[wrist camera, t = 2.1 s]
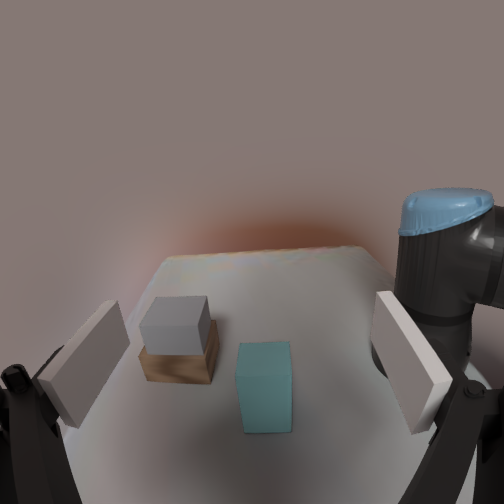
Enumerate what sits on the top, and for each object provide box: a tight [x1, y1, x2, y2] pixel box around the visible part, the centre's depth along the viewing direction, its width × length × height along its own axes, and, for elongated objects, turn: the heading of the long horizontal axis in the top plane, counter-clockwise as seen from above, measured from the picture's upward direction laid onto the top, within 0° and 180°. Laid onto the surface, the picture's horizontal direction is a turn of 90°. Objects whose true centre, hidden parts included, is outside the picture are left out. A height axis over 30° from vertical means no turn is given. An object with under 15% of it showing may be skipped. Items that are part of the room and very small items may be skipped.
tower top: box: [139, 296, 211, 355], centre depth 38 cm, size 8×8×4 cm
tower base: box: [138, 320, 219, 384], centre depth 40 cm, size 9×9×4 cm
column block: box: [235, 342, 292, 433], centre depth 29 cm, size 5×5×9 cm
